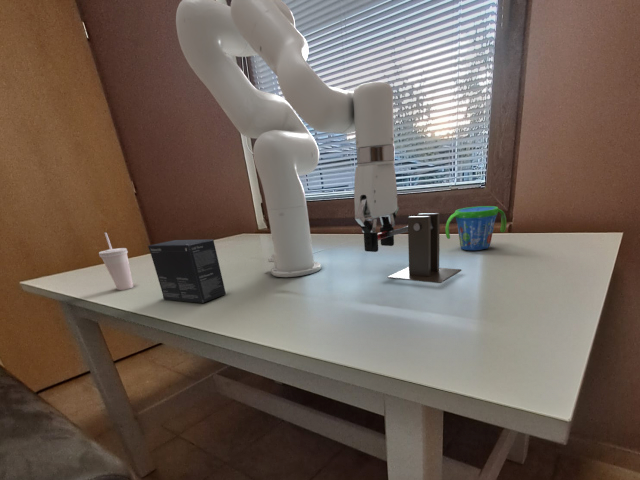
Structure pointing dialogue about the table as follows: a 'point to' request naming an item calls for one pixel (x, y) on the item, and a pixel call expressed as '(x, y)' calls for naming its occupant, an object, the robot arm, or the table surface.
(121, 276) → the smoothie
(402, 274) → the bracket
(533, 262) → the table surface
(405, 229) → the tap lever
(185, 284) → the small box
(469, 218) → the snack cup
